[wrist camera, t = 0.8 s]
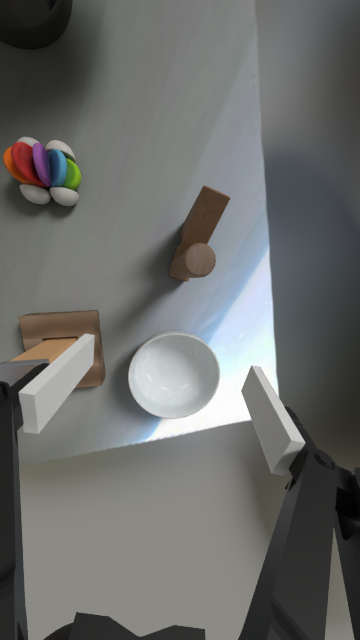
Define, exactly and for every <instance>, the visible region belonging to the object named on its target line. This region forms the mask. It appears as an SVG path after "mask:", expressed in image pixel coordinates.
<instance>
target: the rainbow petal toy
mask: <svg viewBox="0 0 360 640" xmlns="http://www.w3.org/2000/svg"><path fill="white" fill-rule="evenodd" d="M3 161H4V164H5V166H6V168H7V170H8V171H9V172H10V174H11V175H12V176H13V177H15V178H16V179H17V180H19V181H20V182H22V183H23V184H21V185H20V190H21V192H22V194H23V195H24V196H25V197H26V198H27V199H28V200H29V201H31V202H33V203H37V204H46V203H48V202H49V200H50V198H51V195H52V197H53V198H54V200H55V201H56V202H58V203H59V204H61V205H64V206H73V205H75V204H76V203H77V201H78V198H79V195H78V193H77V192H75V191H74V190H75V189H76V188H77V187H78V186H79V184H80V182H81V173H80V170H79V168H78V167H77V165H76V164H75V156H74V154H73V152H72V150H71V149H70V148H69V147H68V146H67V145H66V144H65V143H63V142H61V141H58V140H53V141H50V142H49V143H48V144H47V145H46V148H44V146H43V145H42V144H40V143H39V142H38V141H36V140H35V139H33V138H30V137H22V138H20V139H19V140H18V141H17V143H15V144H14V145H13V146H12V147H10V148H8V149H7V150H6V151H5V153H4V155H3ZM47 187H51V188H50V192H49V191H48V190H46V189H47Z"/></svg>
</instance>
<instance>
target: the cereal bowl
mask: <svg viewBox="0 0 360 640" xmlns="http://www.w3.org/2000/svg"><path fill="white" fill-rule="evenodd" d="M219 379H220V368H219V363H218V360H217V358H216V356H215V354H214V352H213V351H212V349H211V348H210V347H209V346H208V345H207V344H206V343H205V342H204V341H203V340H202V339H200V338H199V337H197V336H195V335H193V334H191V333H187V332H184V331H177V330H176V331H175V330H174V331H173V330H172V331H165V332H161V333H158V334H156V335H154V336H152V337H151V338H149V339H147V340H146V341H145V342H144V343H143V344H142V345H141V346H140V347H139V348H138V350H137V351H136V352H135V354H134V356H133V358H132V360H131V363H130V366H129V371H128V383H129V388H130V391H131V393H132V395H133V397H134V399H135V400H136V402H137V403H138V404H139V405H140V406H141V407H142V408H143V409H145V410H146V411H147V412H149V413H151V414H153V415H155V416H158V417H162V418H169V419H176V418H183V417H186V416H189V415H192V414H194V413H196V412H198V411H199V410H201V409H202V408H203V407H204V406H206V405H207V404H208V402H209V401H210V400H211V399H212V397H213V396H214V394H215V392H216V390H217V388H218V384H219Z"/></svg>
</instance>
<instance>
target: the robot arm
mask: <svg viewBox="0 0 360 640" xmlns="http://www.w3.org/2000/svg"><path fill="white" fill-rule="evenodd" d="M71 9H72V0H0V40H2V41H4V42H6V43H8V44H11V45H14V46H17V47H21V48H38V47H42V46H45V45H47V44H49V43H51V42H53V41H54V40H55V39H56V38H58V37H59V35H60V34H61V33H62V32H63V30H64V29H65V27H66V25H67V23H68V20H69V18H70V14H71ZM94 336H95V335H90V334H84V335H83V336H82V337H80V338H79V339H78V340H77V341H76V342H75V343H74V344H73V345H71V346H70V347H69V348H68V349H67V350H66V351H65V352H64V353H62V354H61V355H60V356H59V357H58V358H57V359H56V360H54V361H53V362H52V363H51V364H48V363H42V364H40V365H38V366H36V367H34V368H33V369H32V370H31V371H29V372H28V373H27V374H26V375H24V376H23V378H21V379H19V380H18V381H17V382H16V383H15V384H13V385H12V386H11V387H10V386H9V384H8V383H7V382H5V381H0V640H28V630H27V617H26V608H25V592H24V571H23V548H22V526H21V503H20V481H19V459H18V437H17V430H18V429H19V428H20V427H21V426H22V425H23V428H24V432H28V433H34V434H39V433H40V432H41V430H42V429H43V428H44V426H45V425H46V424H47V423H48V421H49V420H50V419H51V417H52V416H53V415H54V414H55V412H56V411H57V410H58V408H59V407H60V406H61V405H62V403H63V402H64V401H65V399H66V398H67V397H68V396H69V394H70V393H71V392H72V390H73V389H74V388H75V387H76V385H77V384H78V383H79V381H80V380H81V379H82V378H83V376H84V375H85V374H86V372H87V371H88V370H89V369H90V367H91V366H92V365H93V361H94ZM241 392H242V394H243V397H244V400H245V402H246V405H247V408H248V411H249V413H250V416H251V419H252V421H253V424H254V427H255V429H256V432H257V435H258V437H259V440H260V443H261V446H262V449H263V451H264V454H265V457H266V459H267V462H268V465H269V468H270V470H271V473H272V474H277V475H283V476H285V474H286V473H287V471H288V470H290V472H291V474H292V478H291V479H290V481H289V482H288V484H287V485H286V487H285V489H286V490H287V491H286V494H285V497H284V501H283V504H282V507H281V510H280V513H279V516H278V519H277V522H276V526H275V529H274V532H273V535H272V539H271V542H270V545H269V548H268V551H267V554H266V557H265V560H264V563H263V567H262V570H261V573H260V576H259V580H258V582H257V585H256V589H255V592H254V595H253V598H252V601H251V604H250V607H249V611H248V614H247V617H246V620H245V623H244V626H243V629H242V632H241V634H240V636H239V639H238V640H324V638H325V627H326V615H327V601H328V590H329V578H330V565H331V553H332V540H333V528H335V533H336V539H337V545H338V551H339V556H340V562H341V567H342V573H343V578H344V584H345V589H346V595H347V601H348V606H349V611H350V617H351V623H352V628H353V633H354V639H355V640H360V468H355V470H353V472H350V471H348V470H346V469H344V468H341V467H339V466H337V465H336V463H335V462H334V460H333V459H332V458H331V457H330V456H329V455H328V454H326V453H325V452H323V451H322V450H320V449H317V447H316V446H315V444H314V443H313V441H312V439H311V438H310V436H309V435H308V433H307V431H306V430H305V428H303V425H302V424H301V422H300V421H299V419H298V417H297V416H296V414H295V413H294V412H293V411H292V410H291V409H290V408H289V407H284V406H283V404H282V403H281V401H280V399H279V397H278V396H277V394H276V392H275V391H274V389H273V387H272V386H271V384H270V382H269V381H268V379H267V377H266V376H265V374H264V372H263V371H262V369H261V367H257V366H251V368H250V371H249V373H248V376H247V378H246V381H245V383H244V386H243V388H242V391H241ZM44 640H205V629H199V628H192V627H183V626H177V625H173V626H170V627H168V628H165V629H162V630H160V631H157V632H154V633H151V634H149V635H146V636H143V637H139V636H136V635H135V634H133V633H132V632H130V631H129V630H128V629H126V628H125V627H123V626H122V625H120V624H119V623H117V622H116V621H114V620H113V619H111V618H110V617H108V616H100V615H93V614H85V613H78V612H77V613H76V616H75V619H74V622H73V623H71V624H68V625H66V626H63V627H61V628H60V629H58V630H56V631H55V632H53V633H52V634H50V635H49V636H47V637H46V638H45V639H44Z"/></svg>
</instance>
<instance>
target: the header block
mask: <svg viewBox="0 0 360 640" xmlns="http://www.w3.org/2000/svg"><path fill="white" fill-rule="evenodd" d="M18 319H19V324H20V328H21V333H22V338H23V343H24V348H25V352H26V351H28V350H30V349H32V348H33V347H35V346H37V345H39V344H41V343H42V342H44V341H46V340H48V339H49V338H58V337H74V336H78V339H79V338H80V337H82V336H83V335H84V334H90V335H95V336H94V361H93V365H92V366H91V367H90V369H89V370H88V371H87V372H86V374H85V375H84V376H83V378H82V379H81V380H80V381H79V383H78V384H77V385H76V387H75V388H80V387H91V386H101V385H102V383H103V381H104V379H105V377H106V374H105V366H104V357H103V348H102V340H101V331H100V322H99V314H98V310H95V311H72V312H50V313H30V314H27V315H23V316H20V317H18Z"/></svg>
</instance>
